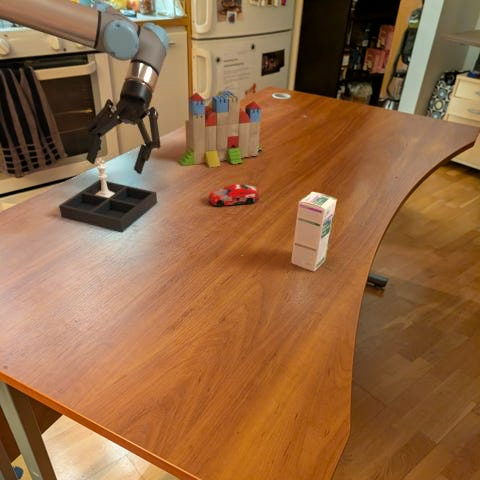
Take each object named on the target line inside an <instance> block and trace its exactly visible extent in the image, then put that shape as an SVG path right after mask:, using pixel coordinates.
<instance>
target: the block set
mask: <svg viewBox="0 0 480 480" xmlns="http://www.w3.org/2000/svg"><path fill="white" fill-rule="evenodd" d="M188 111H189V112H188V119H185V123H184V124H185V151H184V152H183V153H184V154H183V155H181V158H179V159H178V162H179V164H181V166H183V167H184V166H192V165H201V164H206V166H208V168H217V167H218V166H219V167H221V163H220V162H225V161H224V160H226V161H227V162H228V163H230V164H231V165H232V164H233V165H239V164H238V163H241V164H243V163H244V162H243V160H242V159H245V158H244V157H249V158H251V157H250V156H256V155H258V156H259V152H260V151H259V150H263V151H264V149H263V147H262V146H261V145H260V135H261V134H260V133H261V118H262V117H261V116H262V108H261V106H260V105H258V103H256V101H253V100H252V101H251V102H249V103H248V104H247V105H245V109H244V110H243V109H242V108H241V97H240V96H238V95H237V94H236V93H235V92H233V91H231V90H223V91H222V90H220V91H218V93H216V95H212V96H211V101H210V102H209V103H208V105H206V100H205V98H203V97H202V96H201V95H200V94H199V93H198V92H195V93H193V94H192V95H190V96H189V97H188ZM258 151H259V152H258ZM241 158H242V159H241Z"/></svg>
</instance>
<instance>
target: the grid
mask: <svg viewBox="0 0 480 480" xmlns="http://www.w3.org/2000/svg"><path fill="white" fill-rule="evenodd" d="M106 184H107V187H108V190H109V191H111V192H114V193H115V194H114V195H112V196H111V197H109V198H108V197H103V196H99V195H96V194H97V193H98V192H100V191H101V179H98V180H97V181H95V182H93V183H91V184H90V185H89V186H87V187H85V188H84V189H82V190H81V191H79V192H78V193H76V194H75V195H73V196H71V197H70V198H68V199H67V200H65V201H63V202H62V203H60V204H59V205H58V209H59V212H60V217H61V218H65V219H67V220H72V221H76V222H80V223H83V224H87V225H93V226H96V227H100V228H104V229H109V230H111V231H116V232H120V233H123V232H124V231H126V230H128V228H129V227H130V226H132V225H133V224H134V223H135V222H137V221H138V220H139V219H140V218H141V217H142V216H143V215H144V214H146V213H147V212H148V211H150V209H152V208H153V207H154V206H155V205H157V204H158V198H157V197H158V196H157V192H156V191H152V190H148V189H143V188H139V187H135V186H130V185H125V184H122V183H117V182H112V181H109V180H106Z"/></svg>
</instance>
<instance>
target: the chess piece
mask: <svg viewBox="0 0 480 480" xmlns="http://www.w3.org/2000/svg"><path fill="white" fill-rule="evenodd" d="M96 164H98V165H97V166H96V169H97V171H98V172H99V174H98V178H99V179H100V180H101V191H100V192H98V193H97V194H96V195H99V196H103V197H108V198H109V197H111V196H112V195H114V194H115V193H114V192H111V191H109V190H108V187H107V184H106V181H107V180H106V179H107V178H108V175H107V174H106V168H107V165H105V160H102V158H101V157H99V158H98V160H96Z"/></svg>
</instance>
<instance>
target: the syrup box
mask: <svg viewBox="0 0 480 480" xmlns="http://www.w3.org/2000/svg"><path fill="white" fill-rule="evenodd" d="M336 206H337V198H335V197H333V196H330V195H327V194H324V193H320V192H315V191H311V192H310V193H309V194H308V195H305V197H303V198H301V200H298V205H297V214H296V221H295V228H294V237H293V245H292V250H291V251H292V252H291V259H290V263H291V264H293V265H295V266H298V267H300V268H302V269H305V270H308V271H311V272H313V273H314V272H316V270H317V269H318V268H320V267H321V266H322V265H323V264H324V263H325V261H327V256H328V251H329V245H330V239H331V233H332V228H333V222H334V218H335V211H336V208H337V207H336Z"/></svg>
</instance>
